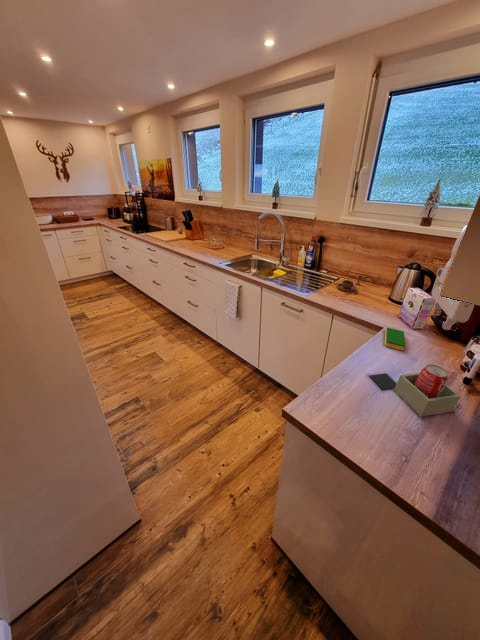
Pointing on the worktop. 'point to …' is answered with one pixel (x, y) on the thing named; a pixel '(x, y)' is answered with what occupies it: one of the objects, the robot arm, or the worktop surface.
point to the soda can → (431, 381)
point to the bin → (420, 401)
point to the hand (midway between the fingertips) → (440, 321)
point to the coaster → (383, 381)
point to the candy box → (416, 308)
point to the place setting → (348, 285)
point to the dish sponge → (394, 338)
